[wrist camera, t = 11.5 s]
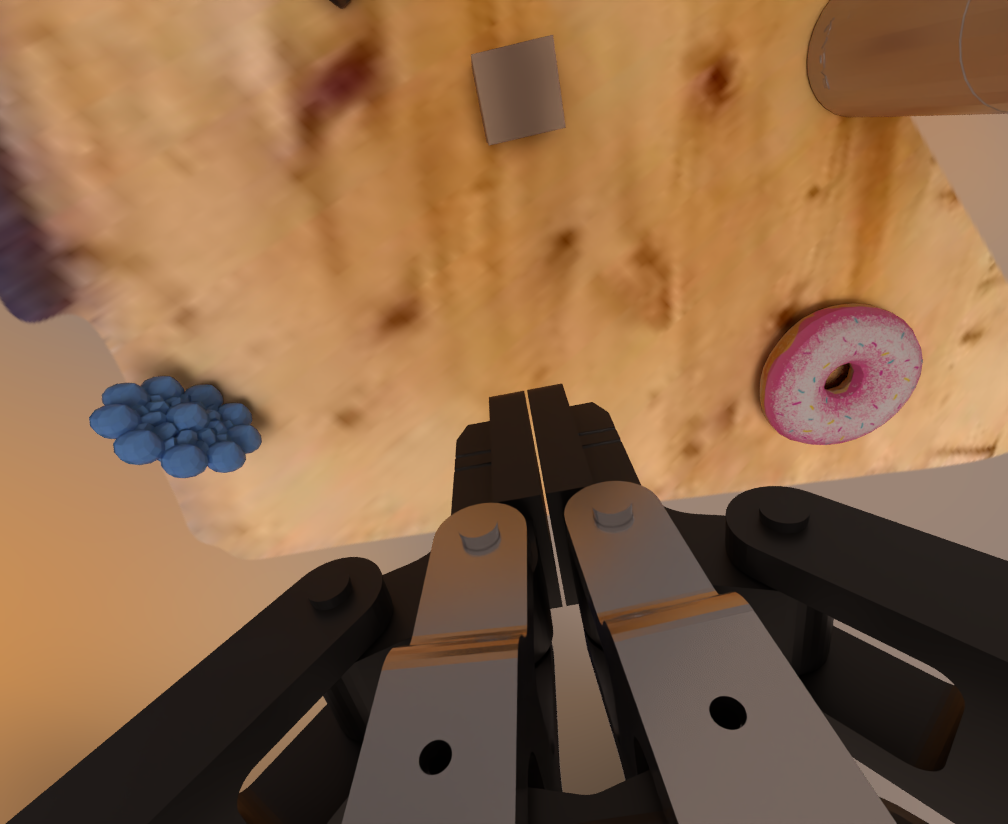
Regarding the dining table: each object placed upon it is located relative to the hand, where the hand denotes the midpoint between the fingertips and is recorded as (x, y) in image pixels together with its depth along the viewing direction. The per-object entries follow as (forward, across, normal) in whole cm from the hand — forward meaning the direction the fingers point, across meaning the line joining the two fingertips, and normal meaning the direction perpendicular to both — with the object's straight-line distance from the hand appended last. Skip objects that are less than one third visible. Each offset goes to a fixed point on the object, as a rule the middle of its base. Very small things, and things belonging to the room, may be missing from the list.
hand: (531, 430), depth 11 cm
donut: (+37, -28, +20) cm, 50 cm away
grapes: (+36, +29, +12) cm, 48 cm away
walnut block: (+36, -3, -7) cm, 37 cm away
